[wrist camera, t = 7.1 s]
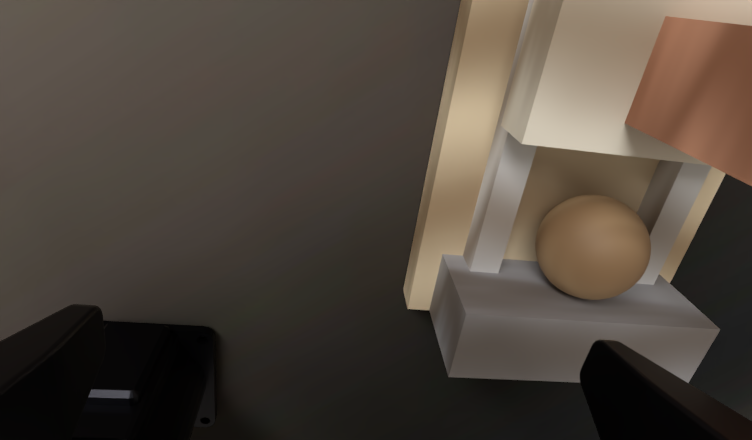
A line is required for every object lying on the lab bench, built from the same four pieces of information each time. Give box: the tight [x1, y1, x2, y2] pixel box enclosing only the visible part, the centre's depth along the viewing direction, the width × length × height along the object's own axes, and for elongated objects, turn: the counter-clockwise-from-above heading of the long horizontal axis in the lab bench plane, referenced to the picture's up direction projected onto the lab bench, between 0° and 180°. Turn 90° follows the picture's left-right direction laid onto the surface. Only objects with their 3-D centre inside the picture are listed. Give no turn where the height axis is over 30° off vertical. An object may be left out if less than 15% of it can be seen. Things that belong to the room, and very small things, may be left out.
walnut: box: [535, 195, 651, 300], centre depth 18 cm, size 4×4×4 cm
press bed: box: [403, 0, 726, 383], centre depth 16 cm, size 22×12×6 cm, turn 172°
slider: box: [501, 0, 752, 186], centre depth 12 cm, size 5×9×7 cm, turn 82°
